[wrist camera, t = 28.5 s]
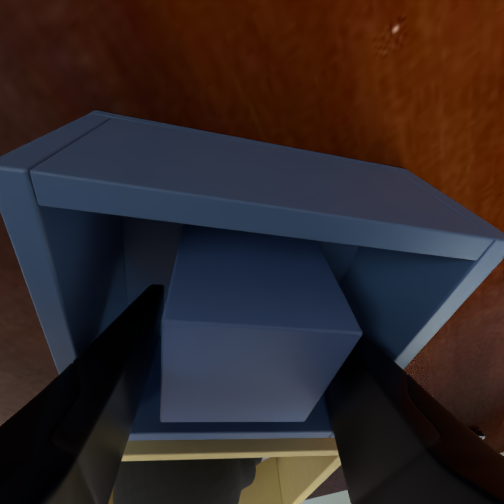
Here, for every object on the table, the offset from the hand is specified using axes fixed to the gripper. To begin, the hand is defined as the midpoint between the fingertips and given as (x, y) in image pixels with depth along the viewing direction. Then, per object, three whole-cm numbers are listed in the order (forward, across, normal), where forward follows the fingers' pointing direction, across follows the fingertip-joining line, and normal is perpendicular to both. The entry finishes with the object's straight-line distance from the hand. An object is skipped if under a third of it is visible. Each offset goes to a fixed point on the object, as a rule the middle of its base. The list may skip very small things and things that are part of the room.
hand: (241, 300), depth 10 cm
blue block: (+2, 0, 0) cm, 2 cm away
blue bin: (+2, 0, 0) cm, 2 cm away
